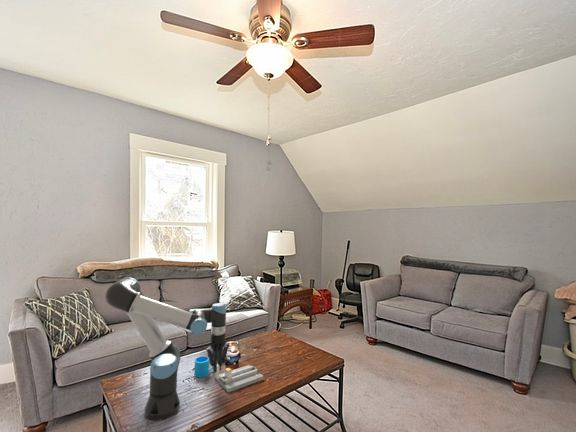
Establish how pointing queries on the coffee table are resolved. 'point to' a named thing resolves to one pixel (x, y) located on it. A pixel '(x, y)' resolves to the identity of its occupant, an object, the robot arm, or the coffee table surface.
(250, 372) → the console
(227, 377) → the fader tab
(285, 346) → the coffee table surface
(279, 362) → the coffee table surface
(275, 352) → the coffee table surface
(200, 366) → the mug
